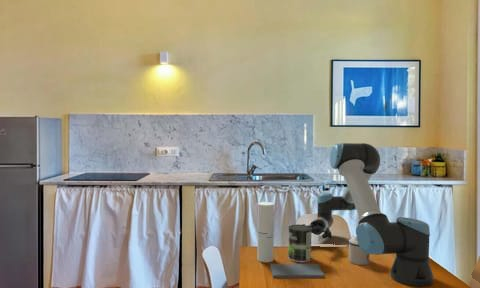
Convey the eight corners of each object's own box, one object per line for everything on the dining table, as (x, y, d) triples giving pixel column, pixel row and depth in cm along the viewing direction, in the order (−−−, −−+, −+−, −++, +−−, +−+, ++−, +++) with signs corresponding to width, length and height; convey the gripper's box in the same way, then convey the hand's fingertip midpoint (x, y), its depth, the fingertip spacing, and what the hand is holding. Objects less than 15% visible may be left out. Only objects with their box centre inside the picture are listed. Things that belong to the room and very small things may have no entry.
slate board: (317, 266, 156) (317, 263, 156) (324, 277, 144) (324, 275, 144) (270, 266, 156) (270, 263, 156) (273, 277, 144) (273, 275, 144)
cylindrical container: (258, 256, 168) (258, 201, 167) (273, 257, 167) (274, 202, 166) (256, 261, 161) (257, 204, 160) (273, 262, 160) (273, 205, 159)
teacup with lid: (372, 266, 157) (372, 239, 157) (350, 265, 158) (350, 238, 158) (365, 256, 169) (366, 231, 168) (345, 255, 170) (345, 230, 170)
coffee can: (295, 263, 159) (296, 231, 159) (283, 256, 169) (284, 225, 168) (316, 260, 163) (316, 229, 163) (303, 253, 173) (303, 223, 172)
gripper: (343, 236, 185) (331, 248, 167) (295, 229, 197) (280, 240, 179) (343, 222, 185) (331, 232, 166) (296, 216, 197) (280, 224, 179)
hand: (305, 236), depth 173 cm, fingers open, 13 cm apart
